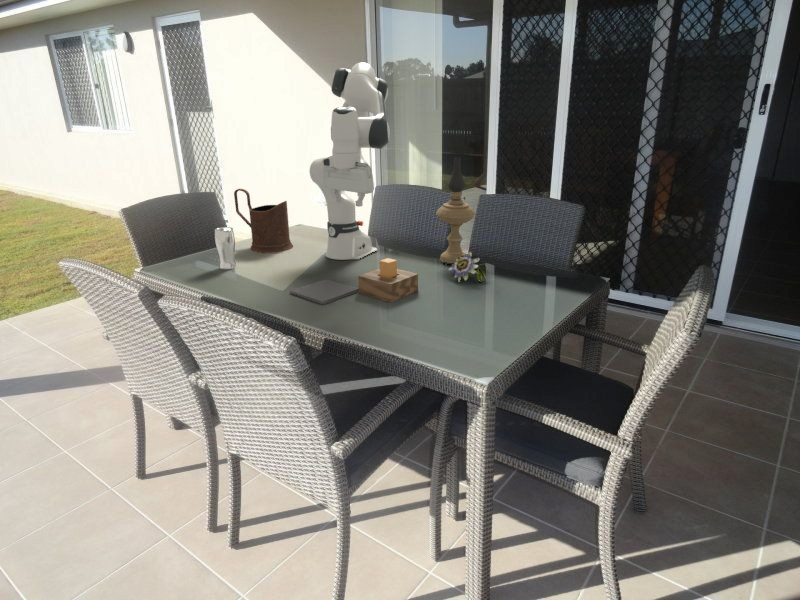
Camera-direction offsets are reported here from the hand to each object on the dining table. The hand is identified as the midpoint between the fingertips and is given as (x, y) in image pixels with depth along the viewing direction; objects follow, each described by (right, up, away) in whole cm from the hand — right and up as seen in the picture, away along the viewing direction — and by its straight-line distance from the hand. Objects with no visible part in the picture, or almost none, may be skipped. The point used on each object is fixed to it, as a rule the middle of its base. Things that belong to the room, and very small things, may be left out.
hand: (348, 204), depth 175 cm
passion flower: (+41, -24, +15) cm, 50 cm away
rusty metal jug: (-42, -8, +59) cm, 72 cm away
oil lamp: (+38, -16, +37) cm, 56 cm away
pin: (+13, -28, +2) cm, 31 cm away
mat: (-8, -29, +3) cm, 30 cm away
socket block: (+13, -29, +3) cm, 32 cm away
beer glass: (-49, -19, +30) cm, 61 cm away
